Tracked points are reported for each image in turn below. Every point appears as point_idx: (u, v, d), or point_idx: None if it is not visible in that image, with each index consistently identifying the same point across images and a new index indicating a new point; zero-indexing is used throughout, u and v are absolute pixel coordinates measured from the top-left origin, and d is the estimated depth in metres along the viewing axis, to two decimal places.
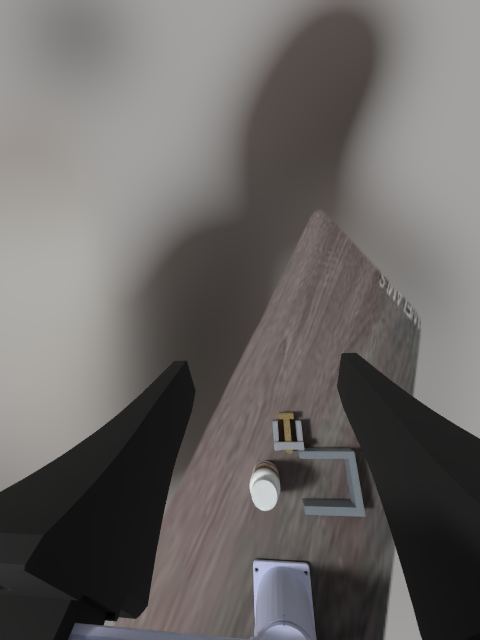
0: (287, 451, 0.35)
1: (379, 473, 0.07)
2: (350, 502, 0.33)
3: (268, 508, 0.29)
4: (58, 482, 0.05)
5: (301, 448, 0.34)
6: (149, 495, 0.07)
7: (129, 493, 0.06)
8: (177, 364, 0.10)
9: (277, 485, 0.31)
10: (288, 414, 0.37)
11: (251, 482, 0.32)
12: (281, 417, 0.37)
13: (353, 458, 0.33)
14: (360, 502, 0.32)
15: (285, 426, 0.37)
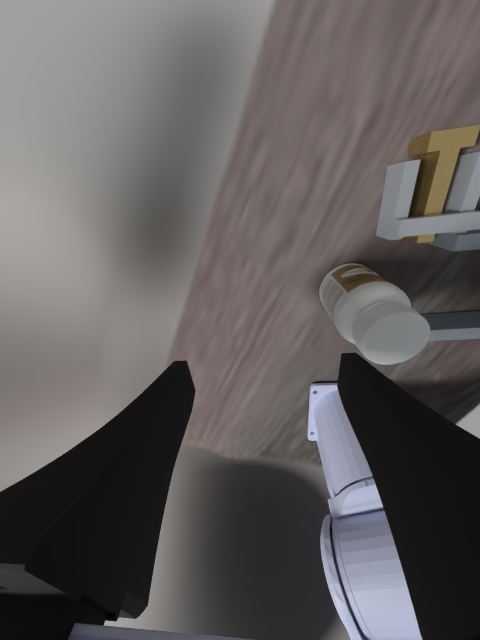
0: (421, 239, 0.15)
1: (379, 473, 0.07)
2: None
3: (397, 360, 0.12)
4: (57, 482, 0.05)
5: (472, 227, 0.13)
6: (149, 495, 0.07)
7: (129, 493, 0.06)
8: (177, 364, 0.10)
9: None
10: (463, 132, 0.12)
11: (345, 312, 0.14)
12: (436, 145, 0.12)
13: None
14: None
15: (439, 173, 0.13)
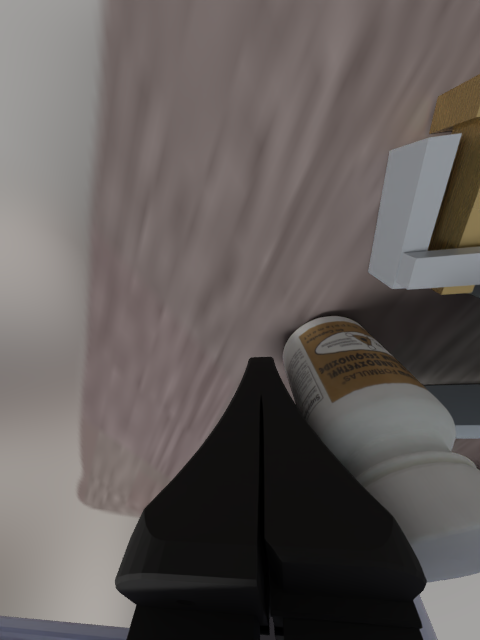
0: (451, 287, 0.08)
1: None
2: None
3: (449, 578, 0.06)
4: (215, 485, 0.05)
5: None
6: None
7: (262, 496, 0.06)
8: (257, 360, 0.10)
9: (452, 444, 0.07)
10: None
11: (328, 448, 0.07)
12: None
13: None
14: None
15: None
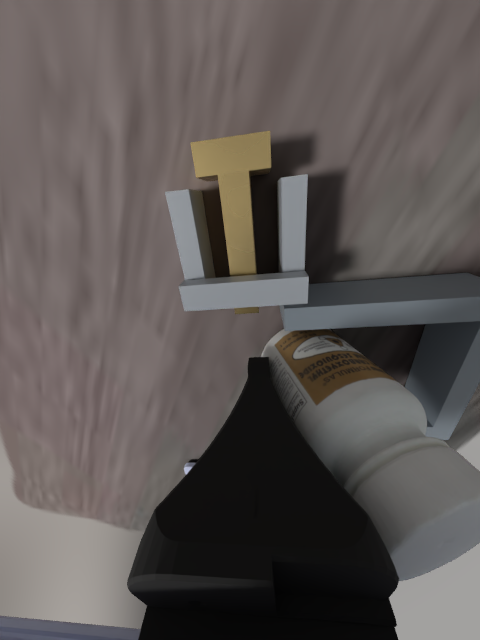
0: (240, 308, 0.09)
1: None
2: None
3: (443, 564, 0.06)
4: (226, 485, 0.05)
5: (295, 300, 0.08)
6: None
7: None
8: (262, 360, 0.10)
9: (425, 430, 0.07)
10: (243, 143, 0.07)
11: (318, 452, 0.07)
12: (207, 166, 0.07)
13: None
14: (452, 418, 0.11)
15: (229, 212, 0.08)
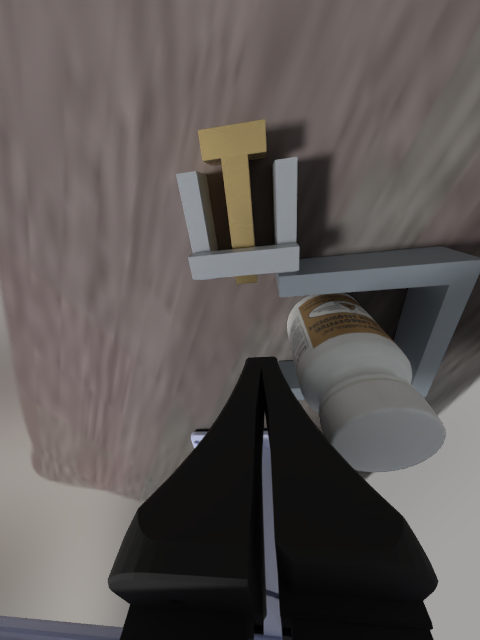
0: (240, 278, 0.11)
1: None
2: None
3: (392, 468, 0.08)
4: (210, 485, 0.05)
5: (288, 268, 0.09)
6: (260, 498, 0.07)
7: (257, 496, 0.06)
8: (254, 360, 0.10)
9: (408, 380, 0.08)
10: (242, 130, 0.08)
11: (309, 380, 0.09)
12: (212, 151, 0.08)
13: (467, 282, 0.09)
14: (427, 376, 0.12)
15: (231, 191, 0.09)
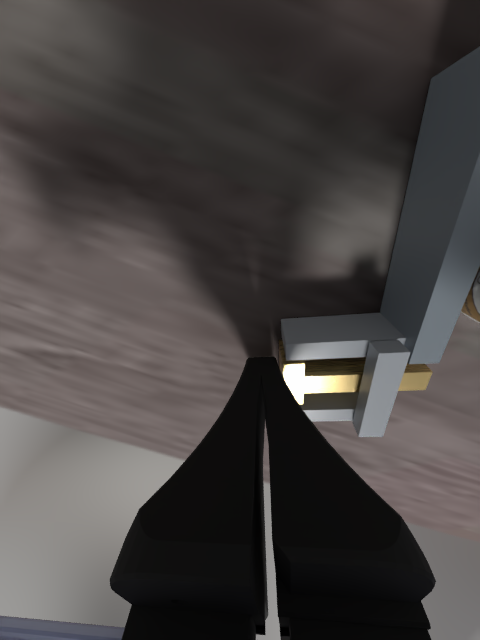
0: (420, 386, 0.09)
1: None
2: None
3: None
4: (211, 485, 0.05)
5: (402, 362, 0.08)
6: (261, 498, 0.07)
7: (259, 496, 0.06)
8: (255, 360, 0.10)
9: None
10: (287, 379, 0.10)
11: None
12: (297, 397, 0.10)
13: None
14: None
15: (330, 388, 0.10)
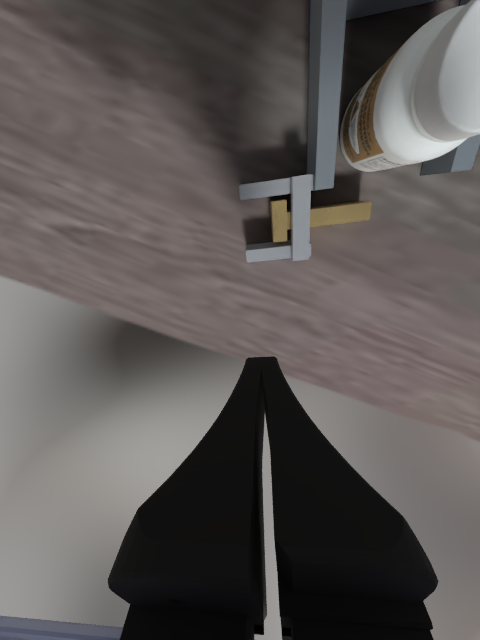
0: (365, 216, 0.14)
1: None
2: None
3: None
4: (210, 485, 0.05)
5: (308, 183, 0.12)
6: (260, 498, 0.07)
7: (257, 496, 0.06)
8: (254, 360, 0.10)
9: (449, 18, 0.07)
10: (275, 215, 0.14)
11: (416, 154, 0.09)
12: (283, 234, 0.14)
13: None
14: None
15: None
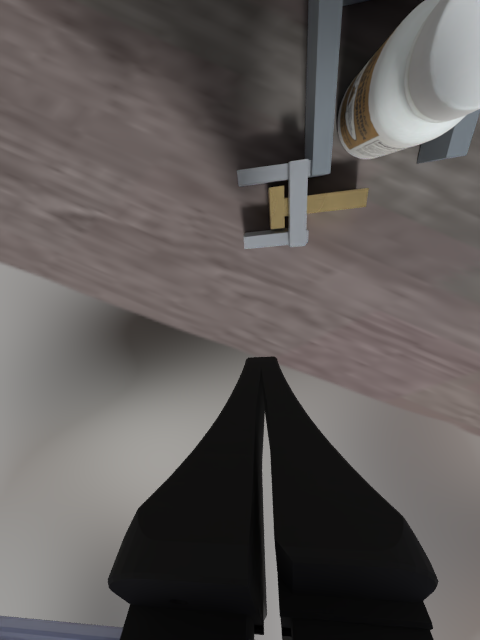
0: (362, 203, 0.14)
1: None
2: None
3: None
4: (210, 485, 0.05)
5: (305, 168, 0.12)
6: (260, 498, 0.07)
7: (257, 496, 0.06)
8: (254, 360, 0.10)
9: None
10: (273, 201, 0.14)
11: (410, 136, 0.09)
12: (280, 221, 0.15)
13: None
14: None
15: None
